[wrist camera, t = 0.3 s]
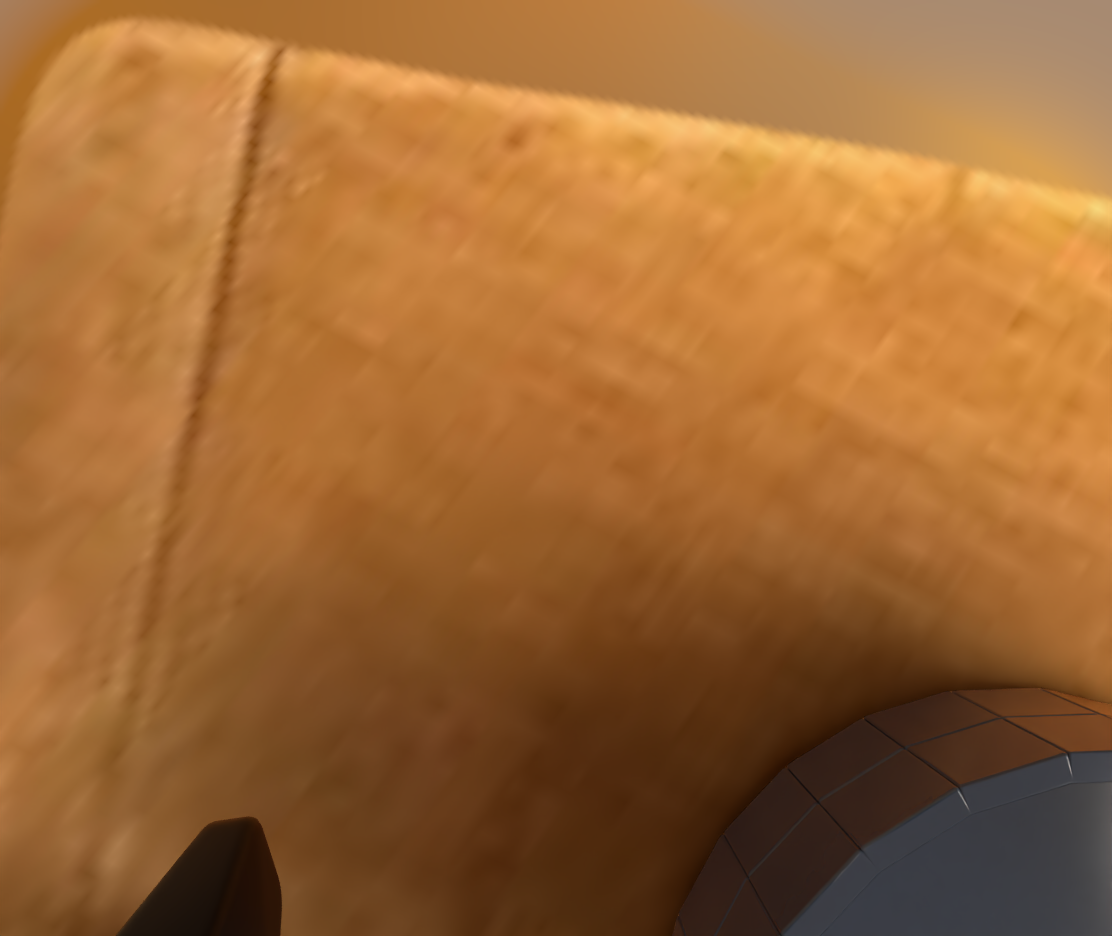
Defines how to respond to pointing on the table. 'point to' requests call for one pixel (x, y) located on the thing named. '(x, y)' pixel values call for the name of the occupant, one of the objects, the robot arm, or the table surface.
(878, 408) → the table surface
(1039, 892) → the bowl
